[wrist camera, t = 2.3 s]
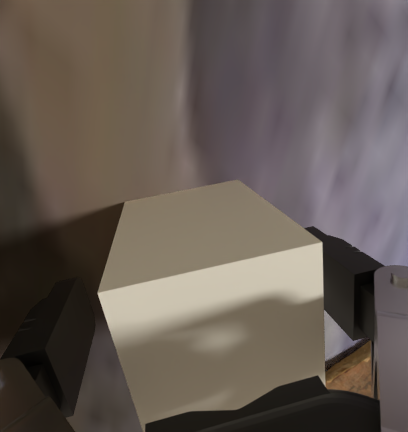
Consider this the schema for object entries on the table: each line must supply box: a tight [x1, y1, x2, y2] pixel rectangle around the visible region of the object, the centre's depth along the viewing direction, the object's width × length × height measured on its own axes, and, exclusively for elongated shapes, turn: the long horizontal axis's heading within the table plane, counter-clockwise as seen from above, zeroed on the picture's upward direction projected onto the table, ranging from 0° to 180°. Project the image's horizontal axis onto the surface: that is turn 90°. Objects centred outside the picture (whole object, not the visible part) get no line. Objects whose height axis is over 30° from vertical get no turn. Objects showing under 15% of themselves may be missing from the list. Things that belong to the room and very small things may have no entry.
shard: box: [325, 340, 371, 397], centre depth 19 cm, size 11×8×2 cm
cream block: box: [98, 180, 325, 432], centre depth 11 cm, size 5×5×7 cm
